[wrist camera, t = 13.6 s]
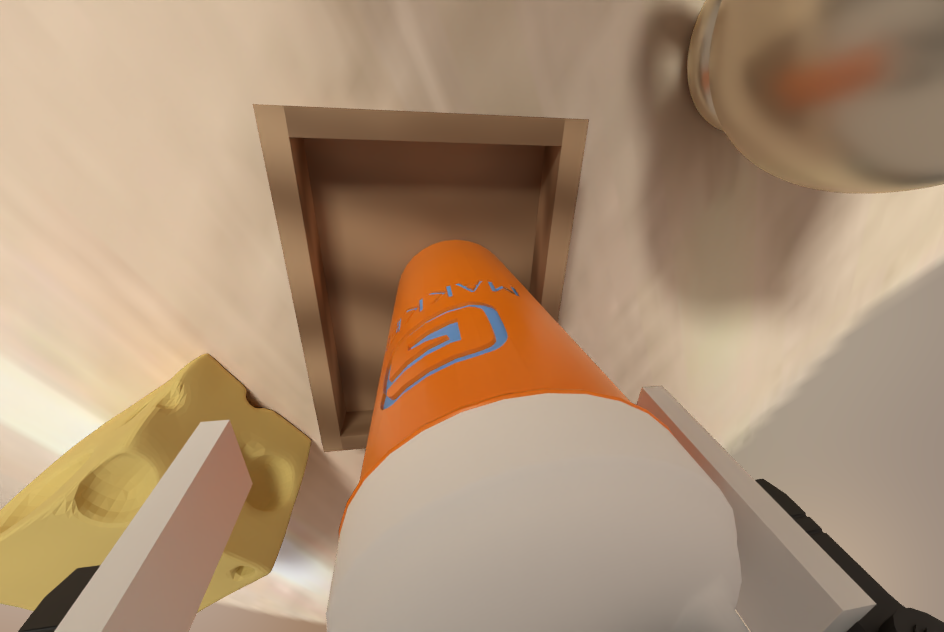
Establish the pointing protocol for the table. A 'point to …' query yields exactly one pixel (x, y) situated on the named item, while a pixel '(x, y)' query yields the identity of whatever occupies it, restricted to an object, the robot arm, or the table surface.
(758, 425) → the table surface
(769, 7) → the teapot
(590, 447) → the shaker bottle
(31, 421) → the table surface
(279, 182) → the tray
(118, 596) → the robot arm
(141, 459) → the cheese
